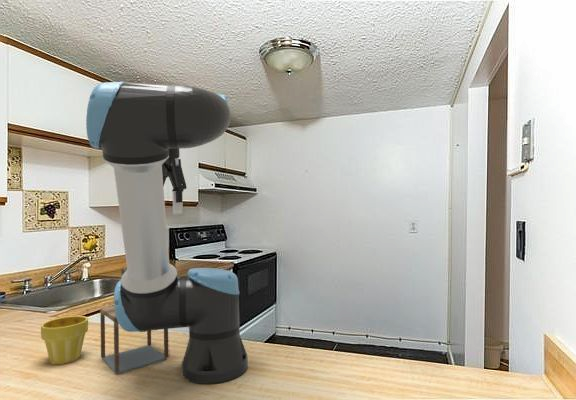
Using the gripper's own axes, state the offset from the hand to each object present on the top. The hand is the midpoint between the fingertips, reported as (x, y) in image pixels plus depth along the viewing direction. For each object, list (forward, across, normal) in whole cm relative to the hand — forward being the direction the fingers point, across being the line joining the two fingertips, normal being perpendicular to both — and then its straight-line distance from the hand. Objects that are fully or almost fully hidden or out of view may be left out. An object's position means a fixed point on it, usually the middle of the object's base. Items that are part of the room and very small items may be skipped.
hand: (168, 214), depth 112 cm
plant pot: (+37, +1, +28) cm, 46 cm away
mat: (+36, -12, +15) cm, 41 cm away
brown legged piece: (+36, -12, +15) cm, 41 cm away
